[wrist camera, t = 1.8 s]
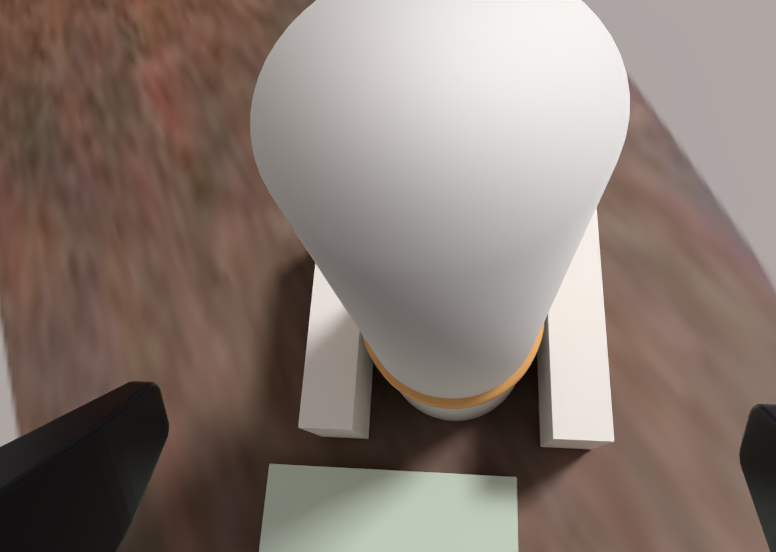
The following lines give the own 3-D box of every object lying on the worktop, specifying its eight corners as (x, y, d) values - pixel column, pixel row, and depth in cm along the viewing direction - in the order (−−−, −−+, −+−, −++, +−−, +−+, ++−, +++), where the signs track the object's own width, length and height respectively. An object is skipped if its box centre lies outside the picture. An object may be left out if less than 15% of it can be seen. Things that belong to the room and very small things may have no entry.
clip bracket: (591, 449, 18) (614, 441, 16) (322, 436, 20) (298, 427, 17) (577, 231, 21) (595, 191, 18) (340, 231, 22) (322, 194, 19)
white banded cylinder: (553, 385, 19) (735, 164, 6) (421, 451, 19) (327, 362, 6) (483, 264, 21) (511, -104, 8) (362, 322, 21) (189, 42, 8)
